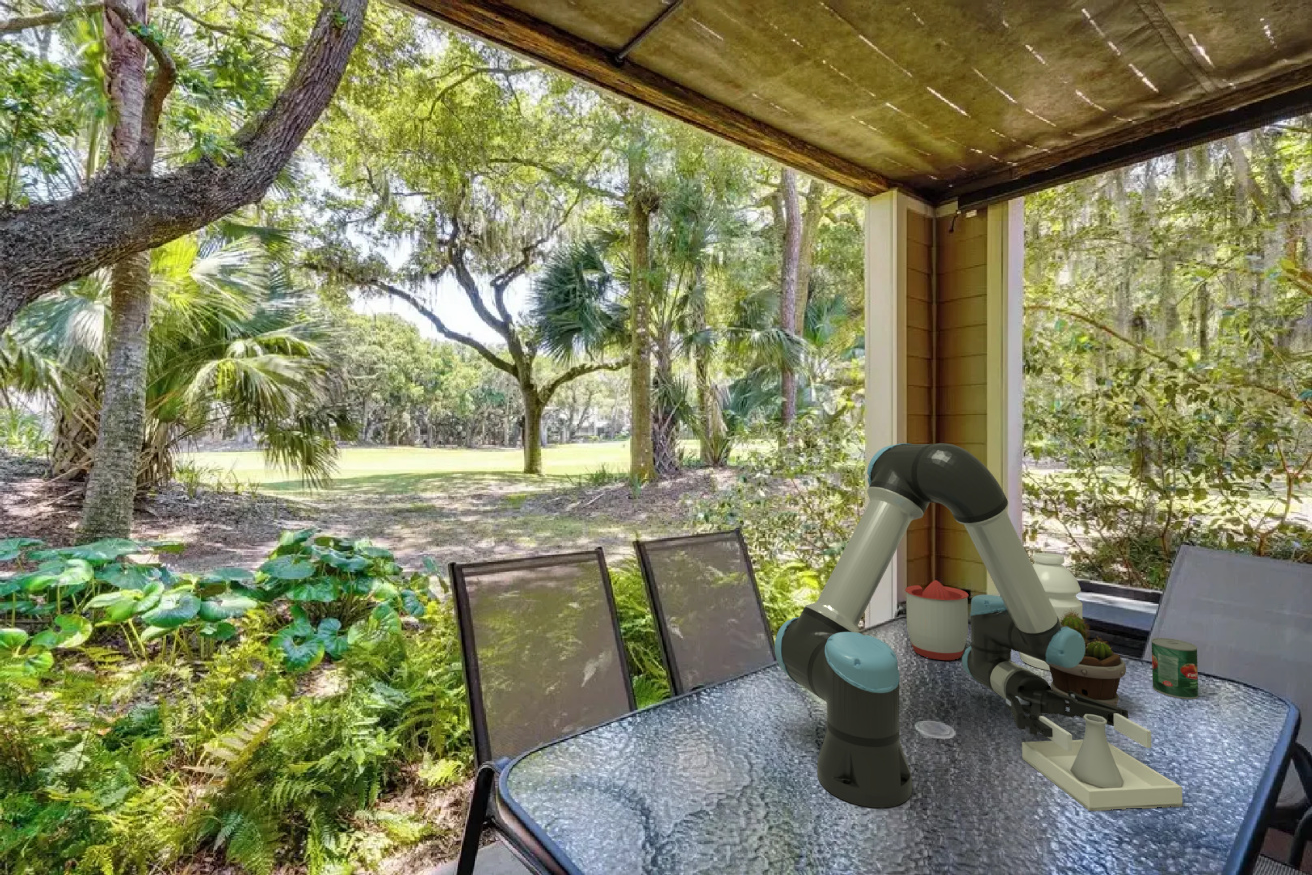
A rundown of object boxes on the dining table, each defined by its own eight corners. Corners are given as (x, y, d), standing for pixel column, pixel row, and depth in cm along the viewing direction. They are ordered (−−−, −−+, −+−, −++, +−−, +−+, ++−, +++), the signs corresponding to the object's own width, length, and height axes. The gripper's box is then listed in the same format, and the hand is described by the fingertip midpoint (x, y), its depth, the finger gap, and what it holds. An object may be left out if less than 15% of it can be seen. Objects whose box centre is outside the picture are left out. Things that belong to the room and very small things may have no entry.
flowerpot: (1145, 721, 119) (1142, 623, 119) (1061, 715, 122) (1058, 619, 122) (1105, 692, 133) (1103, 604, 133) (1031, 687, 136) (1029, 601, 136)
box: (1089, 811, 90) (1089, 791, 90) (1022, 758, 105) (1022, 742, 106) (1182, 806, 91) (1181, 787, 91) (1102, 755, 106) (1102, 738, 106)
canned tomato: (1203, 702, 127) (1201, 651, 128) (1156, 694, 132) (1154, 645, 132) (1193, 689, 134) (1192, 641, 134) (1149, 682, 138) (1148, 635, 139)
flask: (1127, 795, 93) (1126, 732, 94) (1072, 782, 97) (1071, 722, 97) (1119, 773, 100) (1118, 714, 100) (1068, 761, 103) (1066, 705, 103)
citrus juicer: (958, 644, 166) (957, 573, 167) (977, 666, 149) (976, 588, 150) (900, 640, 170) (899, 571, 170) (912, 662, 153) (910, 585, 153)
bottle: (1006, 657, 155) (1004, 552, 156) (1042, 650, 160) (1040, 548, 161) (1059, 677, 142) (1057, 561, 142) (1097, 668, 147) (1094, 557, 147)
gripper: (1081, 704, 117) (1182, 761, 96) (961, 709, 116) (1037, 767, 95) (1080, 667, 118) (1181, 715, 96) (960, 671, 116) (1035, 721, 95)
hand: (1109, 741), depth 96 cm, fingers open, 13 cm apart
